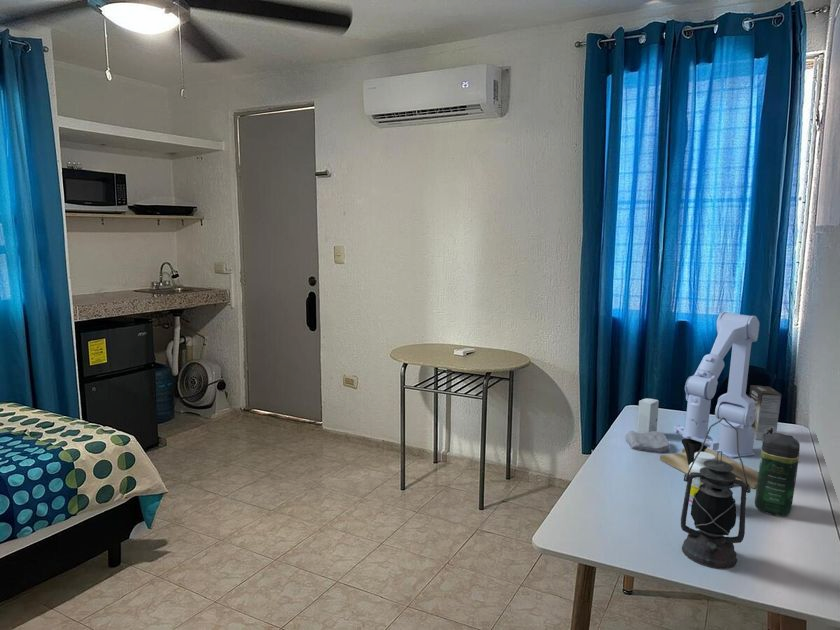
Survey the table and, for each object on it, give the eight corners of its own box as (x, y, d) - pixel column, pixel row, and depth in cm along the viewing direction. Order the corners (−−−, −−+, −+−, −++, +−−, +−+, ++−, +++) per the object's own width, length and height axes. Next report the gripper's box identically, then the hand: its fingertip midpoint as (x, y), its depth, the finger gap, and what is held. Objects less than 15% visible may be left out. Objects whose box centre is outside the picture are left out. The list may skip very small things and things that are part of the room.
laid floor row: (702, 449, 186) (703, 446, 185) (776, 485, 161) (777, 480, 161) (682, 452, 183) (682, 448, 183) (754, 488, 159) (754, 484, 159)
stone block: (671, 459, 183) (661, 441, 192) (673, 445, 181) (663, 428, 190) (631, 458, 184) (623, 440, 193) (633, 444, 182) (625, 427, 191)
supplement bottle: (713, 500, 151) (718, 452, 149) (716, 512, 145) (722, 462, 143) (684, 496, 153) (689, 448, 151) (686, 507, 147) (691, 457, 145)
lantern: (676, 559, 124) (690, 420, 119) (677, 535, 133) (690, 406, 129) (744, 575, 119) (761, 430, 114) (739, 549, 129) (755, 415, 124)
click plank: (686, 456, 180) (687, 452, 180) (741, 484, 161) (742, 480, 161) (659, 459, 177) (660, 455, 176) (712, 488, 158) (713, 483, 158)
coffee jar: (790, 521, 142) (800, 446, 139) (752, 511, 146) (761, 438, 143) (793, 505, 150) (802, 434, 147) (757, 496, 154) (765, 427, 151)
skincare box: (648, 440, 193) (651, 403, 191) (635, 436, 196) (638, 400, 194) (657, 435, 197) (660, 400, 195) (643, 432, 200) (646, 397, 198)
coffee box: (744, 430, 205) (749, 384, 202) (764, 431, 204) (769, 385, 201) (755, 439, 196) (760, 392, 193) (776, 441, 195) (782, 393, 192)
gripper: (667, 411, 171) (662, 456, 173) (706, 428, 158) (701, 477, 160) (686, 409, 173) (682, 454, 176) (727, 426, 160) (721, 474, 162)
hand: (692, 465), depth 168 cm, fingers closed
